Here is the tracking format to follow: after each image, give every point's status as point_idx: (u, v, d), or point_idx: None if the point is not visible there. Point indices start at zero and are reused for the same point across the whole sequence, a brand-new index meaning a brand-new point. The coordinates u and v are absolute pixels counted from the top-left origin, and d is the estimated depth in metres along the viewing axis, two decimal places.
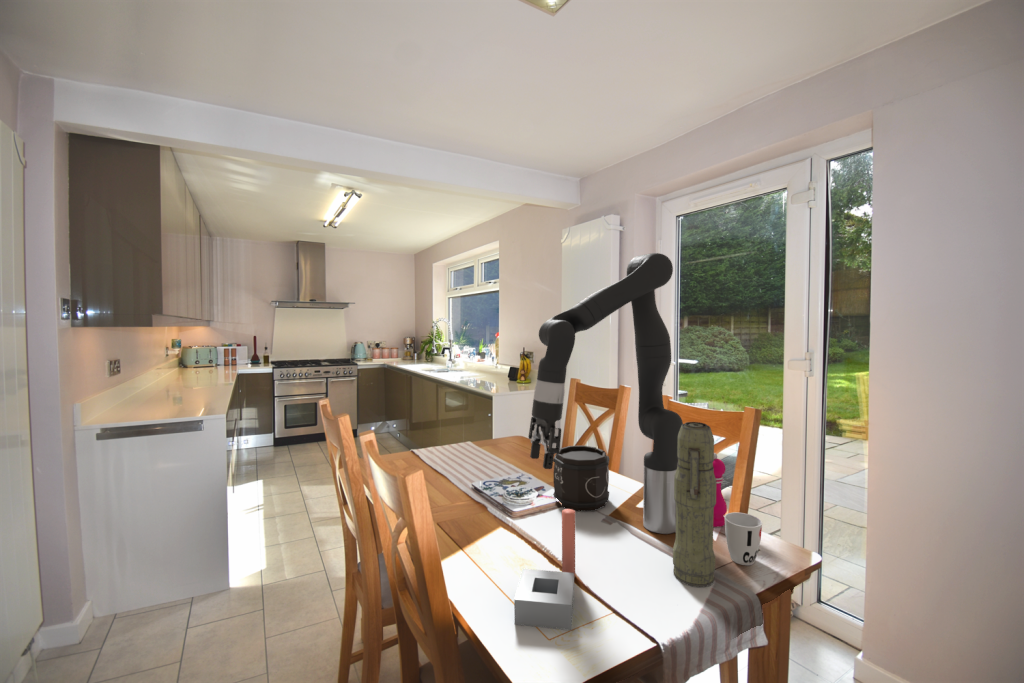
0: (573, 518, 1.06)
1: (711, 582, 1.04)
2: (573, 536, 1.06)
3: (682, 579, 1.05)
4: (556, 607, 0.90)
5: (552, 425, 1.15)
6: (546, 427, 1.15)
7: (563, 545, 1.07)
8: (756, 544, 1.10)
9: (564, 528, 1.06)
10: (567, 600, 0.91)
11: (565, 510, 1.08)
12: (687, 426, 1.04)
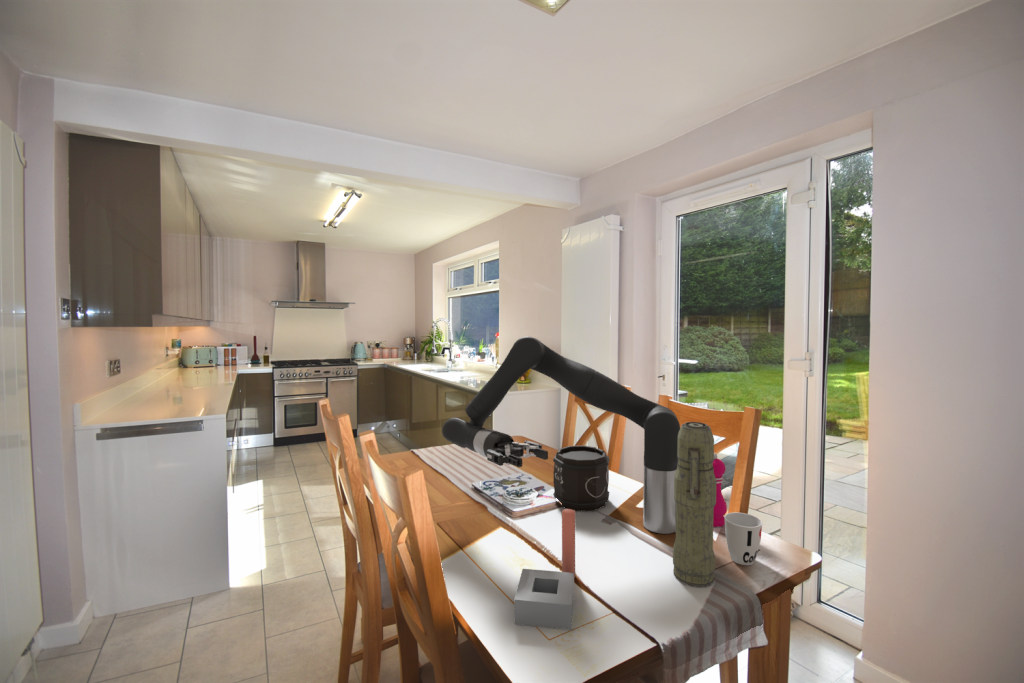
0: (573, 518, 1.06)
1: (711, 582, 1.04)
2: (573, 536, 1.06)
3: (682, 579, 1.05)
4: (556, 607, 0.90)
5: (496, 451, 1.20)
6: None
7: (563, 545, 1.07)
8: (756, 544, 1.10)
9: (564, 528, 1.06)
10: (567, 600, 0.91)
11: (565, 510, 1.08)
12: (687, 426, 1.04)
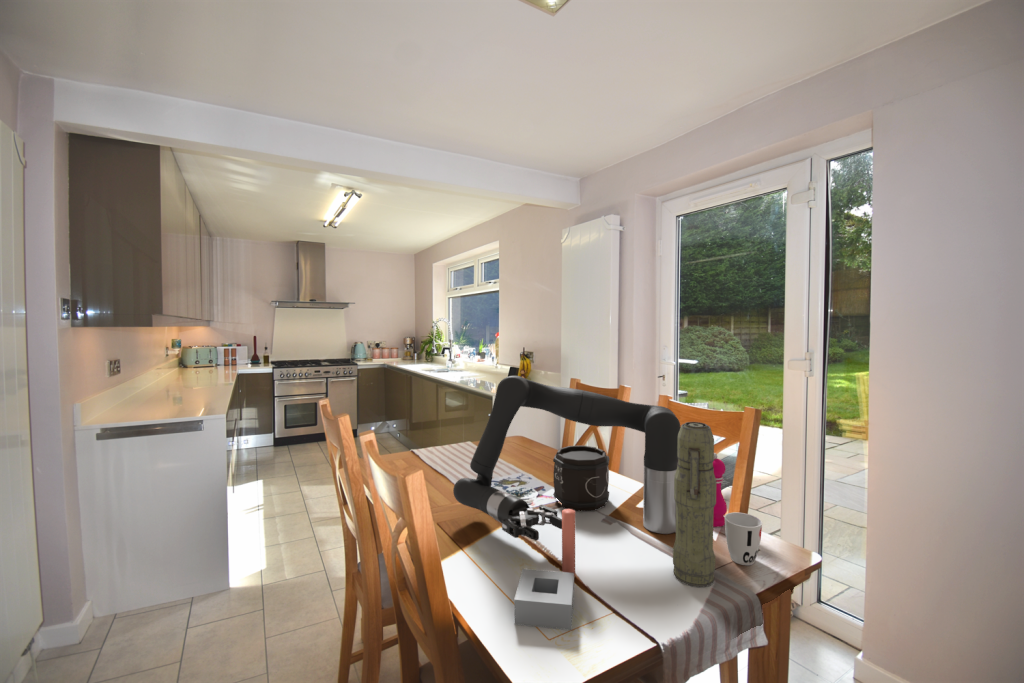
0: (573, 518, 1.06)
1: (711, 582, 1.04)
2: (573, 536, 1.06)
3: (682, 579, 1.05)
4: (556, 607, 0.90)
5: (510, 519, 1.18)
6: None
7: (563, 545, 1.07)
8: (756, 544, 1.10)
9: (564, 528, 1.06)
10: (567, 600, 0.91)
11: (565, 510, 1.08)
12: (687, 426, 1.04)
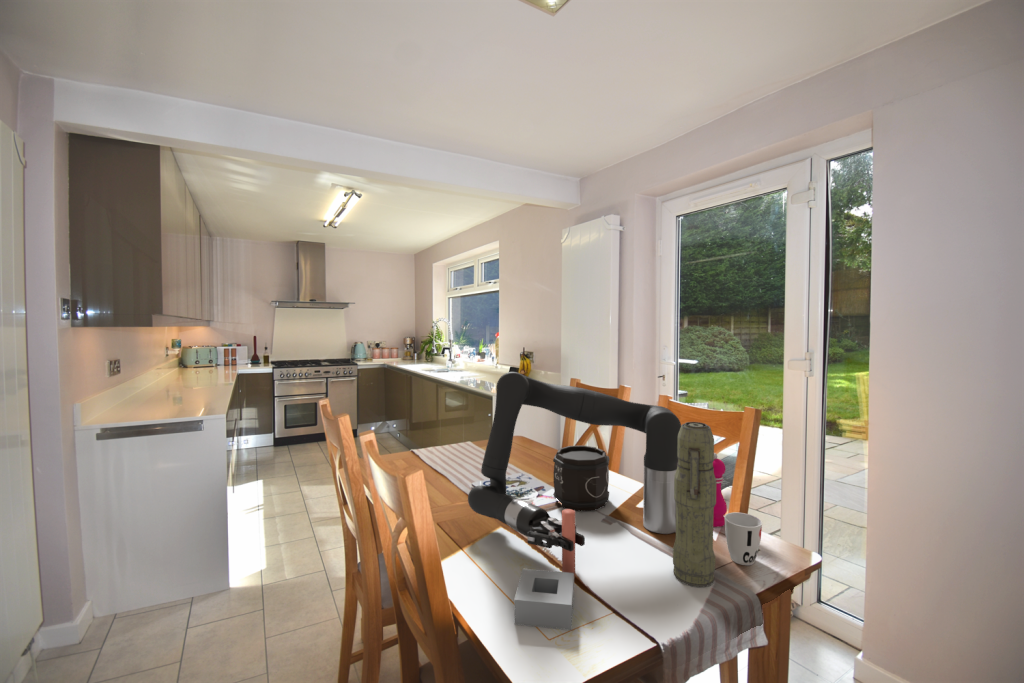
0: (573, 518, 1.06)
1: (711, 582, 1.04)
2: (573, 536, 1.06)
3: (682, 579, 1.05)
4: (556, 607, 0.90)
5: (531, 531, 1.11)
6: None
7: None
8: (756, 544, 1.10)
9: (564, 529, 1.06)
10: (567, 600, 0.91)
11: (565, 510, 1.08)
12: (687, 426, 1.04)
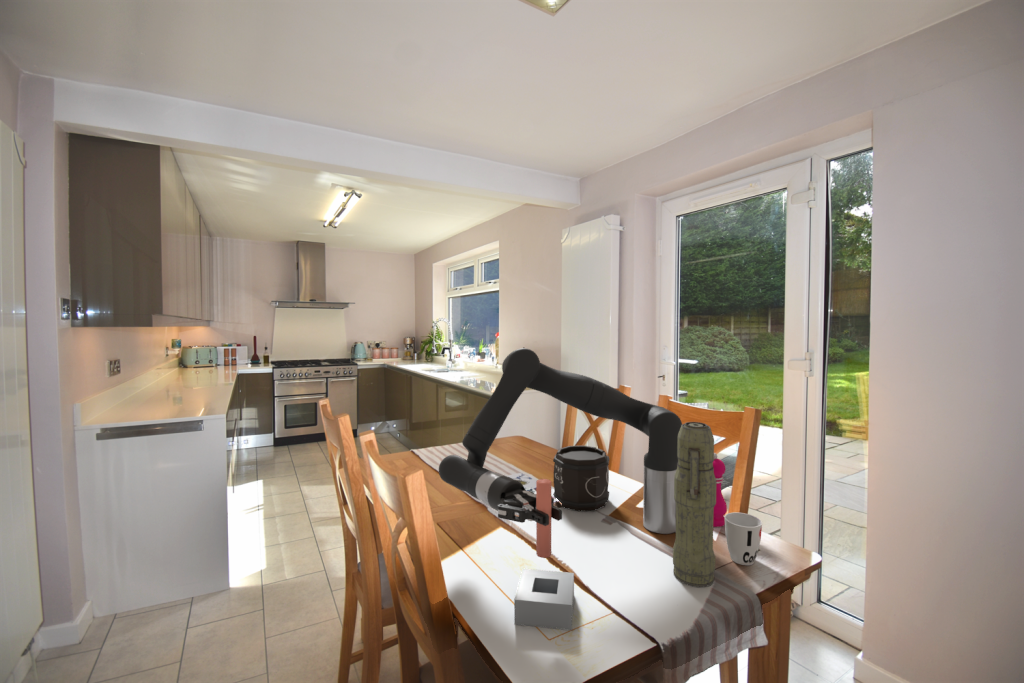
0: (549, 489, 0.93)
1: (711, 582, 1.04)
2: (549, 509, 0.94)
3: (682, 579, 1.05)
4: (556, 607, 0.90)
5: None
6: None
7: None
8: (756, 544, 1.10)
9: (539, 501, 0.94)
10: (567, 600, 0.91)
11: (540, 480, 0.95)
12: (687, 426, 1.04)
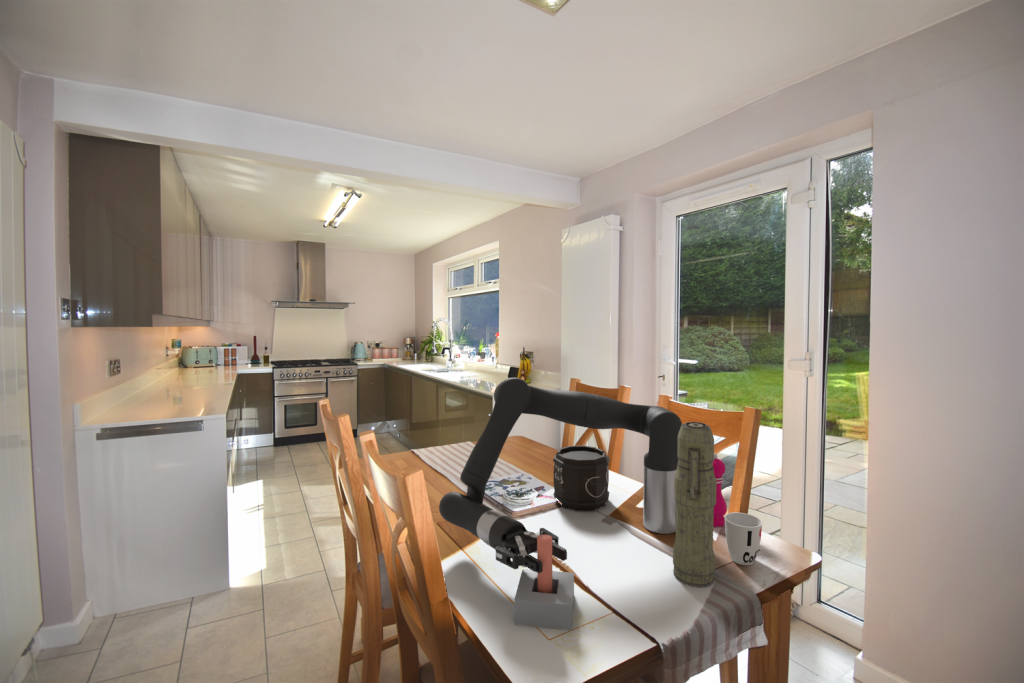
0: (550, 546, 0.94)
1: (711, 582, 1.04)
2: (550, 566, 0.94)
3: (682, 579, 1.05)
4: (556, 607, 0.90)
5: (504, 546, 0.99)
6: None
7: (538, 576, 0.95)
8: (756, 544, 1.10)
9: (540, 557, 0.94)
10: (567, 600, 0.91)
11: (541, 536, 0.95)
12: (687, 426, 1.04)
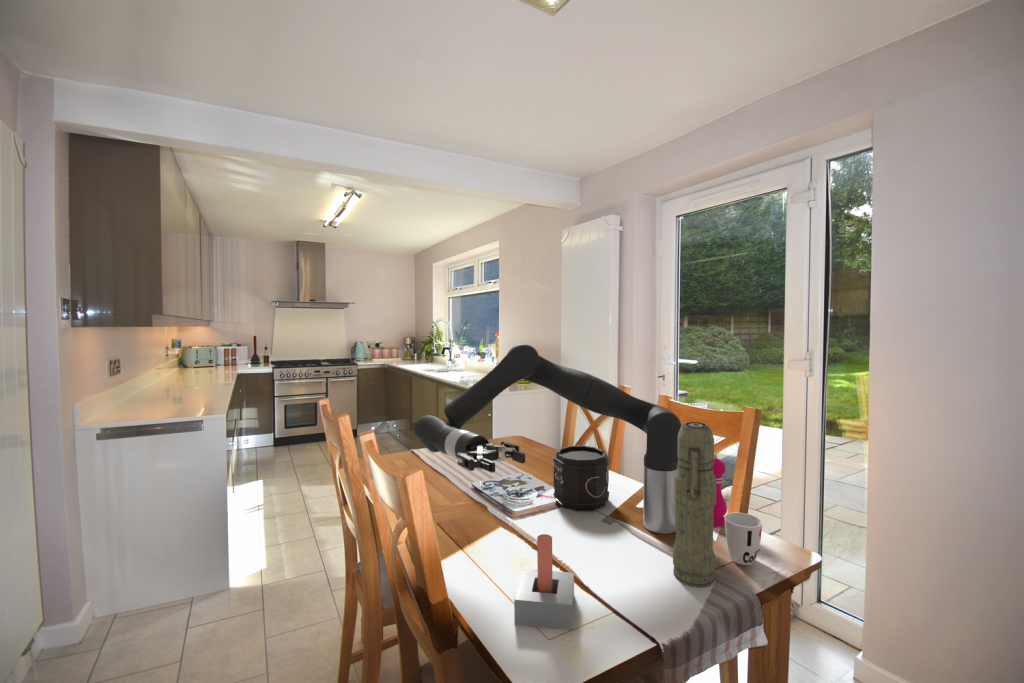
0: (550, 545, 0.94)
1: (711, 582, 1.04)
2: (550, 565, 0.94)
3: (682, 579, 1.05)
4: (556, 607, 0.90)
5: None
6: None
7: (539, 576, 0.95)
8: (756, 544, 1.10)
9: (540, 557, 0.94)
10: (567, 600, 0.91)
11: (541, 536, 0.96)
12: (687, 426, 1.04)
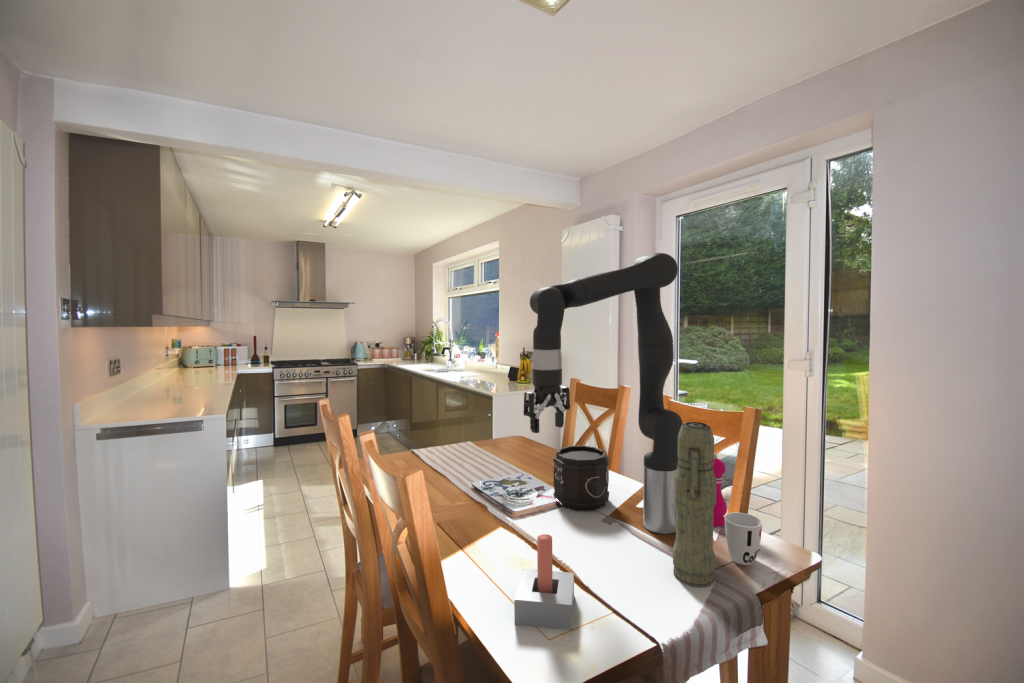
0: (550, 545, 0.94)
1: (711, 582, 1.04)
2: (550, 565, 0.94)
3: (682, 579, 1.05)
4: (556, 607, 0.90)
5: (537, 391, 1.18)
6: None
7: (539, 576, 0.95)
8: (756, 544, 1.10)
9: (540, 557, 0.94)
10: (567, 600, 0.91)
11: (541, 536, 0.96)
12: (687, 426, 1.04)
